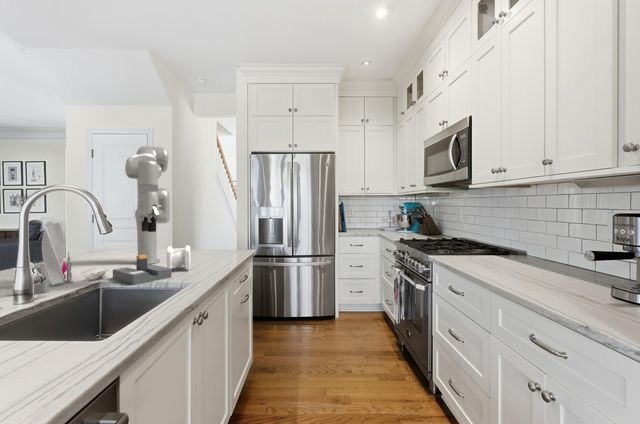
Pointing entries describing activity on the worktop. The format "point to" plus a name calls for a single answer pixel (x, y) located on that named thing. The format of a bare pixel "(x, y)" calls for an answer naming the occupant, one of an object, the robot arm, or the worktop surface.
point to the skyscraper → (55, 253)
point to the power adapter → (43, 286)
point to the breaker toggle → (142, 263)
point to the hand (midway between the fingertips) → (149, 231)
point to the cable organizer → (178, 257)
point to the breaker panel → (141, 274)
